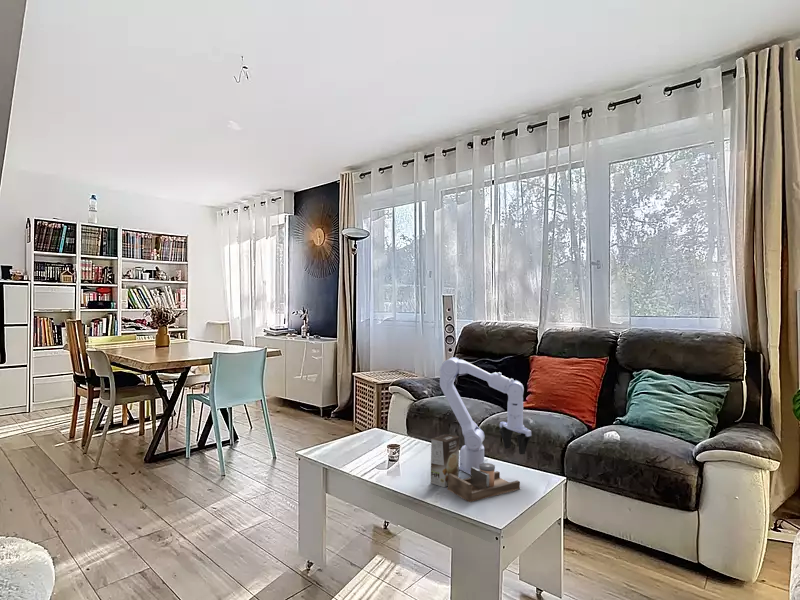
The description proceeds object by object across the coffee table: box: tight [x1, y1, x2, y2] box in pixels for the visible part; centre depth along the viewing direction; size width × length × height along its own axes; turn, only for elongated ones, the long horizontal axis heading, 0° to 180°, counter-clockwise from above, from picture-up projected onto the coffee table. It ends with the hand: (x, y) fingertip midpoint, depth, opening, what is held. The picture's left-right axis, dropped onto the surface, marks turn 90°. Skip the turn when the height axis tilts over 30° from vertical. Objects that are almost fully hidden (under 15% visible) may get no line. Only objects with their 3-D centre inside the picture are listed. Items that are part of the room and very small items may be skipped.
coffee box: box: [430, 433, 460, 488], centre depth 176 cm, size 9×6×16 cm
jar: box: [480, 462, 496, 487], centre depth 170 cm, size 5×5×8 cm
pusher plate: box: [470, 467, 489, 490], centre depth 169 cm, size 8×1×6 cm, turn 30°
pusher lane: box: [447, 470, 521, 503], centre depth 170 cm, size 12×22×6 cm, turn 120°
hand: (514, 450), depth 182 cm, fingers open, 7 cm apart
